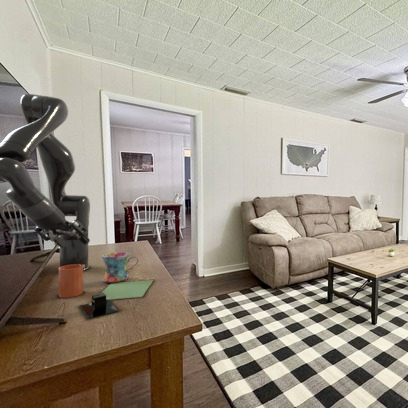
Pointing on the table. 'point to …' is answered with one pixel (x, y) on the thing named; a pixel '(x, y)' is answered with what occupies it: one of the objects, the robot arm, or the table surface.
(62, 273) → the pot
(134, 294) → the placemat
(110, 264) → the mug
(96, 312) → the black stand
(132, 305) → the table surface
